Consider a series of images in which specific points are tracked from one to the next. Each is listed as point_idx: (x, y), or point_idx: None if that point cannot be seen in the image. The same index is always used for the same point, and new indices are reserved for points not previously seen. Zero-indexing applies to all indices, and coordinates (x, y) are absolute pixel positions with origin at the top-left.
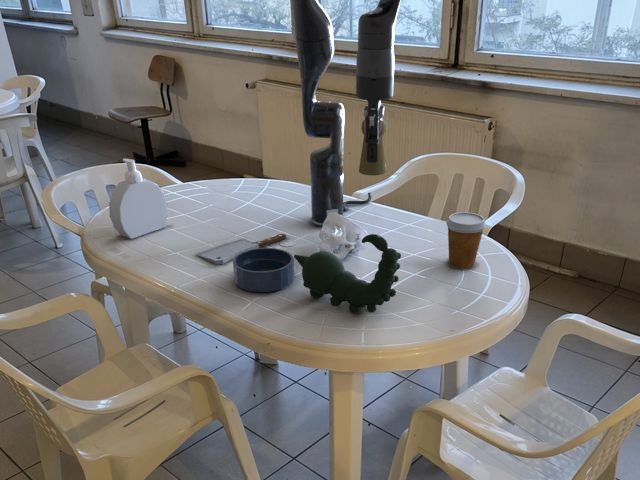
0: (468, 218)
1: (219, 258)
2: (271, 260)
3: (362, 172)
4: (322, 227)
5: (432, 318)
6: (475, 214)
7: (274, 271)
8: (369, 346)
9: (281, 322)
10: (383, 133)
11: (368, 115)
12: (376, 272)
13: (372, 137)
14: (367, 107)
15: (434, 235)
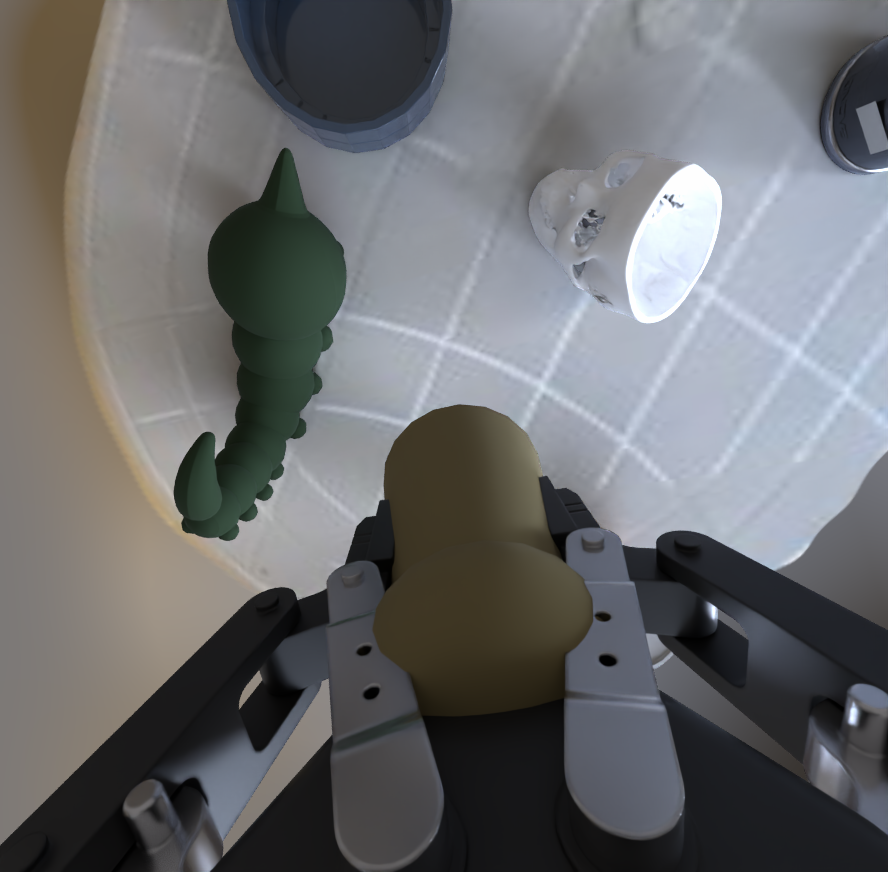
0: None
1: None
2: (427, 24)
3: (396, 442)
4: (637, 155)
5: (299, 532)
6: (669, 652)
7: (266, 91)
8: (133, 437)
9: (138, 202)
10: None
11: (214, 867)
12: (229, 455)
13: (270, 673)
14: (597, 851)
15: (763, 473)
